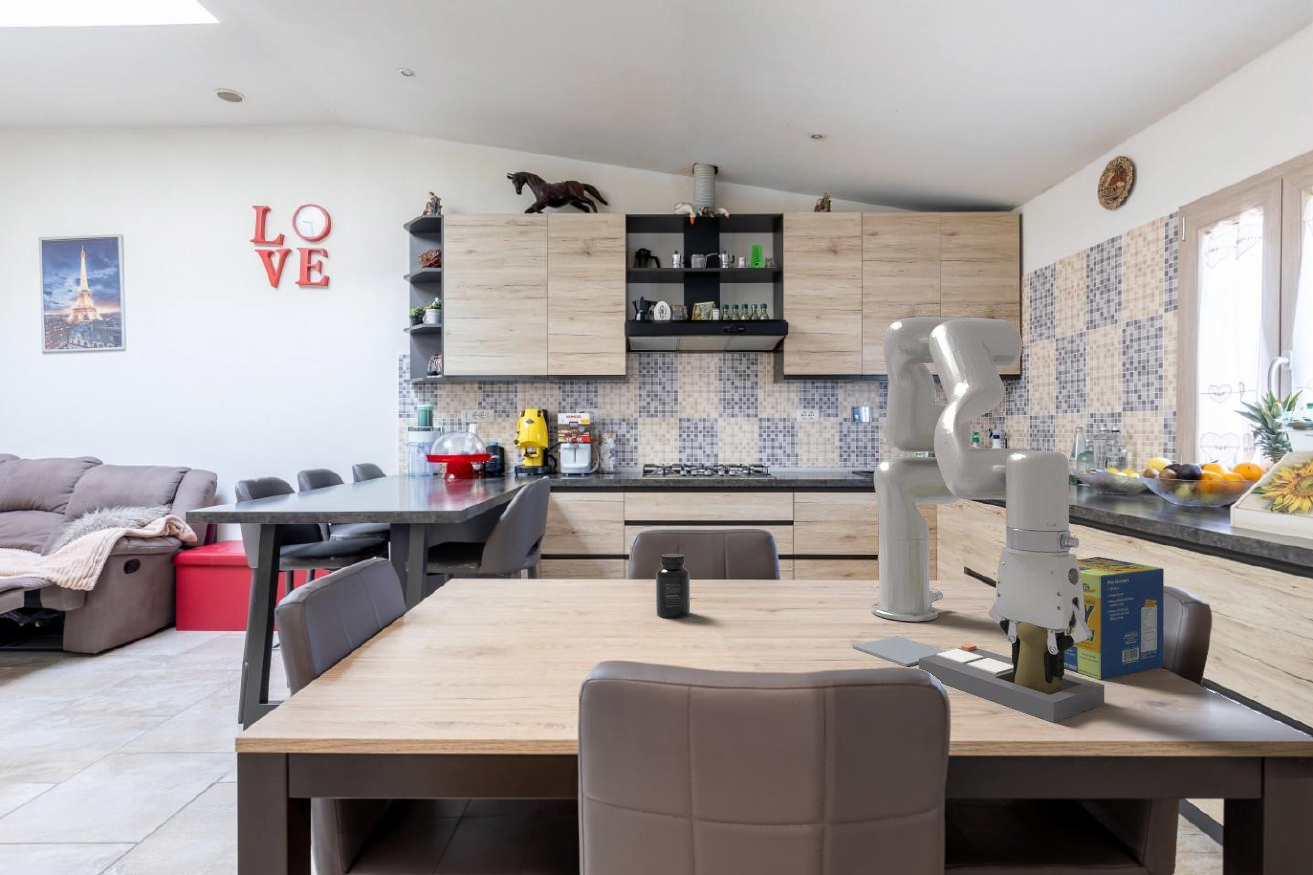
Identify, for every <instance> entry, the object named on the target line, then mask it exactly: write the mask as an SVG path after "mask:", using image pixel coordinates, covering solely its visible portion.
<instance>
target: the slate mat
mask: <svg viewBox="0 0 1313 875" xmlns="http://www.w3.org/2000/svg"><path fill="white" fill-rule="evenodd" d="M852 648H853V649H854V650H857V651H860V652H863V653H866V654H869V655H872V656H875V657H878V658H881V659H883V660H887V661H889V662H893V663H895V664H898V663H899V664H898V665H901V666H903V667H906V666H907V667H910V666H914V665H917V664H918V665H919V658H922V657H926V656H930V655H934V654H938V653H942V652H946V651H947V650H945V649H942V648H939V647H936V646H931V645H928V644H925V643H921V642H919V641H917V640H916V641H915V640H912V639H909V638H905V637H903V636H899V635H895V636H891V637H886V638H881V639H878V640H877V639H876V640H872V641H868V642H863V643H858V644H854V645H852Z"/></svg>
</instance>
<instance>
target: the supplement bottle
mask: <svg viewBox="0 0 1313 875" xmlns="http://www.w3.org/2000/svg"><path fill="white" fill-rule="evenodd" d="M659 563H660V566H661V567H660V568H658V569H657V571H656V572H655V592H656V593H655V594H656V595H655V596H656V597H655V598H656V599H655V600H656V601H655V603H656V604H655V606H656V609H655V610H656V614H657V615H658V616H659V617H661V618H665V619H680V618H685V617H687V616H689V615H690V613H691V597H690V596H691V592H690V591H691V588H690V585H691V584H690V571H689V570H688V569H687V568H686V567H684V566H685V564H686V562H685V554H680V553H664V554H661V555H660V562H659Z"/></svg>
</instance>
